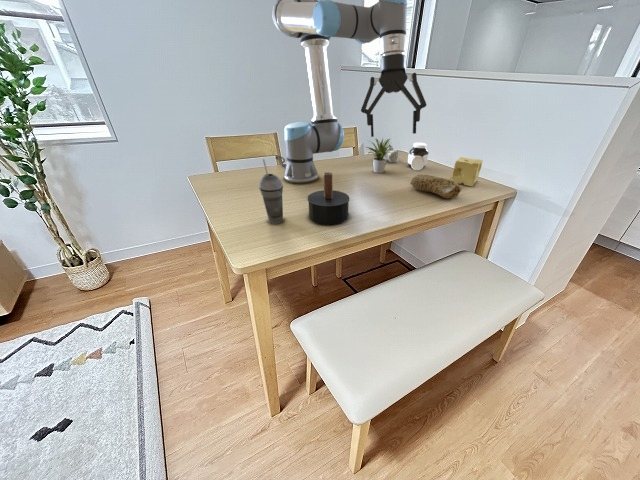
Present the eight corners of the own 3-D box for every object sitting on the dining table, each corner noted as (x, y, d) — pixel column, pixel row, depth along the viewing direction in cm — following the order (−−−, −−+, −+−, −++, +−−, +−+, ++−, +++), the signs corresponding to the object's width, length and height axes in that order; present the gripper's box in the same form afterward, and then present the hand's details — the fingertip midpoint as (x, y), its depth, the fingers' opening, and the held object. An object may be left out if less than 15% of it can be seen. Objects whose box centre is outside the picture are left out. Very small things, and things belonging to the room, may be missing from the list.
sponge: (460, 199, 116) (428, 176, 127) (466, 183, 110) (431, 161, 121) (437, 210, 112) (405, 186, 123) (441, 194, 106) (408, 170, 117)
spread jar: (420, 164, 155) (423, 141, 148) (432, 169, 146) (437, 146, 140) (401, 165, 151) (404, 143, 144) (413, 171, 142) (417, 148, 136)
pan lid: (306, 193, 98) (304, 167, 93) (345, 192, 100) (346, 166, 95) (308, 210, 86) (306, 181, 81) (353, 208, 89) (353, 180, 83)
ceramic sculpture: (391, 147, 146) (373, 144, 157) (389, 164, 151) (372, 160, 161) (405, 146, 152) (387, 142, 162) (403, 162, 156) (386, 158, 167)
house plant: (374, 165, 151) (377, 132, 141) (397, 170, 144) (401, 136, 135) (360, 171, 141) (361, 136, 132) (383, 176, 135) (387, 140, 125)
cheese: (472, 187, 126) (479, 164, 120) (449, 182, 130) (454, 160, 124) (477, 181, 133) (483, 159, 127) (454, 176, 138) (460, 155, 132)
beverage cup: (281, 226, 89) (273, 163, 78) (260, 224, 91) (249, 161, 79) (290, 217, 95) (283, 157, 84) (270, 215, 96) (261, 155, 85)
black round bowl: (308, 209, 101) (307, 192, 97) (344, 207, 103) (344, 191, 99) (310, 226, 90) (309, 208, 86) (351, 224, 92) (351, 206, 89)
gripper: (349, 57, 79) (354, 138, 89) (439, 47, 76) (434, 132, 86) (351, 62, 86) (356, 137, 95) (434, 54, 83) (430, 131, 93)
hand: (393, 135), depth 91 cm, fingers open, 13 cm apart
